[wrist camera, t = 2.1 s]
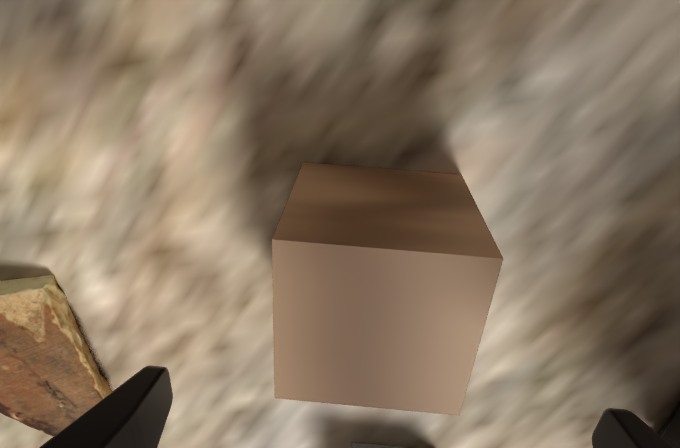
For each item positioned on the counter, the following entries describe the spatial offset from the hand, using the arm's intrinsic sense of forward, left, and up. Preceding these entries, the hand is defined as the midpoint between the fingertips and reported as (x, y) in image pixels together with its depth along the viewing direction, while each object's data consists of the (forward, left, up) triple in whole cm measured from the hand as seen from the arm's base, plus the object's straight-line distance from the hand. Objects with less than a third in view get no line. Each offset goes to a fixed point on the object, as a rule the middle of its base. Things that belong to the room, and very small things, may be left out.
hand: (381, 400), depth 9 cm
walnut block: (0, 0, -7) cm, 7 cm away
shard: (+13, +7, -7) cm, 16 cm away
